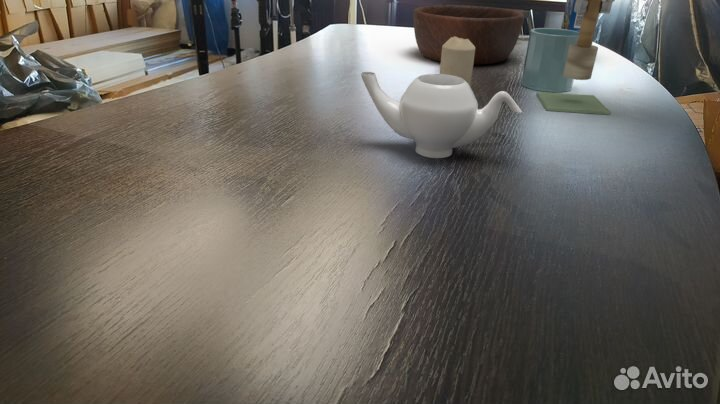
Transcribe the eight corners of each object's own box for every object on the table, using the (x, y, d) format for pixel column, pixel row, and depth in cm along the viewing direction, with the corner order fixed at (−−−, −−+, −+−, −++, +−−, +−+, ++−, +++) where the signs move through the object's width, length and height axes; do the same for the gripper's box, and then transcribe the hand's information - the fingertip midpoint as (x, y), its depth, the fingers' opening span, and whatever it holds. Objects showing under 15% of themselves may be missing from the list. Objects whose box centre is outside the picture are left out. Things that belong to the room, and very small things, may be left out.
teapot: (512, 176, 58) (527, 98, 54) (349, 154, 63) (350, 80, 58) (514, 147, 66) (526, 78, 62) (369, 130, 71) (371, 64, 67)
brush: (586, 74, 85) (608, -15, 79) (593, 80, 81) (616, -13, 75) (560, 72, 86) (579, -16, 79) (565, 79, 82) (586, -14, 75)
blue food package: (581, 52, 128) (605, -58, 117) (588, 61, 118) (616, -58, 106) (555, 50, 130) (577, -58, 118) (560, 59, 119) (585, -59, 108)
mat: (593, 98, 89) (594, 95, 89) (610, 114, 81) (610, 111, 80) (536, 94, 90) (536, 91, 90) (546, 110, 82) (546, 107, 81)
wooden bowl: (508, 49, 129) (514, 6, 124) (526, 71, 107) (535, 20, 102) (411, 45, 131) (414, 3, 126) (409, 65, 109) (413, 16, 104)
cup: (565, 81, 100) (576, 29, 95) (576, 93, 92) (589, 37, 87) (518, 78, 101) (527, 27, 96) (525, 90, 93) (535, 34, 88)
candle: (475, 97, 88) (483, 38, 83) (455, 102, 84) (462, 41, 80) (451, 90, 91) (457, 33, 87) (431, 95, 88) (436, 36, 83)
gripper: (681, -86, 74) (653, 13, 80) (539, -89, 76) (522, 7, 83) (700, -88, 68) (668, 18, 75) (546, -92, 71) (528, 12, 77)
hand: (591, 12), depth 79 cm, fingers closed on brush, 2 cm apart
